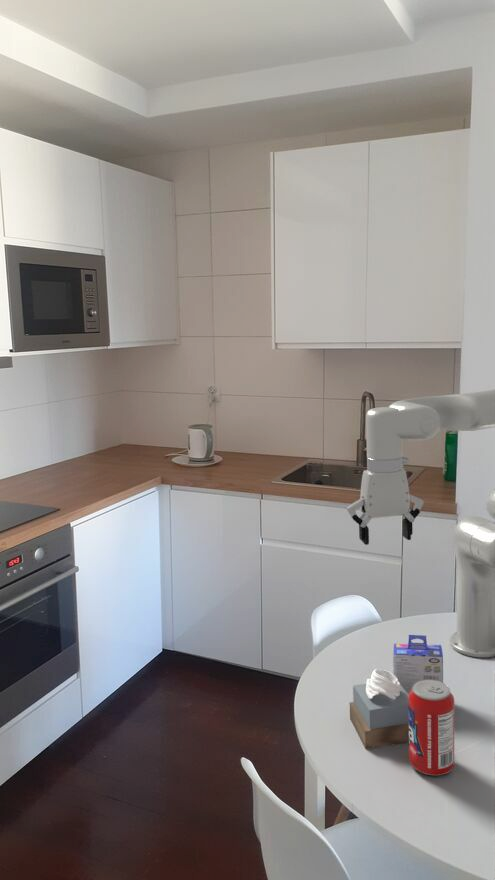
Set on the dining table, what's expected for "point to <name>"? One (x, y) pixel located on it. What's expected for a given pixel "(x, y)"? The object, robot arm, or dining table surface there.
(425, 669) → the ink cartridge box
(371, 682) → the white cloth bundle
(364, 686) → the top block
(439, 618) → the dining table surface
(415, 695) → the soda can
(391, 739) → the base block
